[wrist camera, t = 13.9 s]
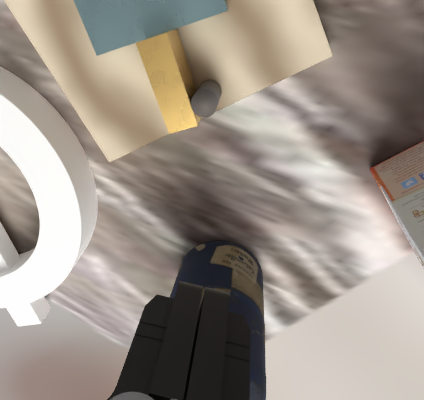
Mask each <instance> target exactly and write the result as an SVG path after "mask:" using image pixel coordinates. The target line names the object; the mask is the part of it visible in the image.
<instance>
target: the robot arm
mask: <svg viewBox="0 0 424 400" xmlns="http://www.w3.org/2000/svg"><path fill="white" fill-rule="evenodd" d="M202 292H203V286H199V285H195V284H190V283H186V282H182V281H179V284H178V287H177V291H176V295H175V298H174V299H173V298H169V297H165V296H161V295H156V296H155V297H154V298H153V299H152V300H151V301H150V302H149V303H148V304H147V305H146V306H145V308H144V310H143V313H142V316H141V319H140V322H139V324H138V327H137V330H136V333H135V336H134V338H133V341H132V344H131V347H130V350H129V352H128V355H127V358H126V361H125V363H124V366H123V369H122V372H121V375H120V377H119V380H118V383H117V386H116V388H115V390H114V392H113V393H112V395H111V396H110V397H109V398H108V399H107V400H250V346H251V330H250V328H249V325H248V323H247V321H246V319H245V316H244V315H242V314H238V313H234V312H229V311H228V310H229V298H230V293H229V292H225V291H221V290H216V289H212V288H208V287H205V289H204V293H203V297H202ZM201 298H202V300H201ZM200 303H201V304H200Z"/></svg>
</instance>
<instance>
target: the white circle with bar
mask: <svg viewBox="0 0 424 400" xmlns="http://www.w3.org/2000/svg"><path fill="white" fill-rule="evenodd" d="M0 147H1V148H2V149H3V150H4V151H5V152H6V153H7V154H8V155H9V156H10V157H11V158H12V160H13V161H14V162H15V163H16V165H17V166H18V167H19V169H20V170H21V172H22V173H23V175H24V176H25V178H26V180H27V182H28V183H29V185H30V187H31V190H32V192H33V194H34V197H35V200H36V203H37V207H38V212H39V219H40V231H39V238H38V242H37V245H36V247H35V248H34V249H32V250H30V251H27V252H25V253H21V254H18V252H17V251H16V249H15V247H14V245H13V243H12V242H11V240H10V238H9V236H8V235H7V233H6V231H5V229H4V227H3V226H2V224H1V222H0V308H7V310H8V312H9V313H10V315H11V316H12V318H13V319H14V321H15V323H16V324H17V326H25V325H34V324H41V323H42V322H43V321H44V319H45V317H46V316H47V314H48V313H49V311H50V310H51V308H50V306H49V304H48V302H47V300H46V299H45V297H44V296H46V295H47V294H49V293H50V292H52V291H53V290H54V289H56V288H57V287H58V286H59V285H60V284H61V283H62V282H63V281H64V279H65V278H66V277H67V275H68V274H69V273H70V271H71V270H72V268H73V267H74V265H75V264H76V262H77V261H78V259H79V258H80V256H81V255H82V253H83V252H84V250H85V249H86V247H87V246H88V244H89V242H90V240H91V238H92V235H93V232H94V229H95V225H96V219H97V210H98V201H97V191H96V184H95V180H94V176H93V173H92V169H91V166H90V164H89V161H88V159H87V156H86V154H85V152H84V150H83V148H82V146H81V144H80V142H79V141H78V139H77V137H76V136H75V134H74V132H73V131H72V130H71V128H70V127H69V125H68V124H67V123H66V121H65V120H64V119H63V117H62V116H61V115H60V114H59V113H58V112H57V110H56V109H55V108H54V107H53V106H52V105H51V104H50V103H49V102H48V101H47V100H46V99H45V98H44V97H43V96H42V95H41V94H40V93H38V92H37V91H36V90H35V89H34V88H32V87H31V86H30V85H29V84H27V83H26V82H24V81H23V80H22V79H20V78H19V77H17V76H16V75H14V74H13V73H11V72H9V71H8V70H6V69H4V68H2V67H1V66H0Z"/></svg>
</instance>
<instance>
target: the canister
mask: <svg viewBox="0 0 424 400" xmlns="http://www.w3.org/2000/svg"><path fill="white" fill-rule="evenodd" d="M179 281H182V282H186V283H190V284H195V285H199V286H203V292H202V297H203V293H204V289H205V287H208V288H212V289H216V290H221V291H225V292H229V293H230V298H229V310H228V311H229V312H234V313H238V314H242V315H244V316H245V319H246V321H247V323H248V325H249V328H250V330H251V346H250V400H265V399H266V373H265V324H264V301H263V275H262V270H261V267H260V265H259V263H258V261H257V259H256V258H255V257H254V255H253V254H252V253H251V252H249V251H248V250H247V249H245V248H244V247H242V246H240V245H238V244H235V243H232V242H227V241H211V242H206V243H203V244H200V245H198V246H196V247H195V248H193V249H192V250H191V251H189V252H188V253H187V255H186V256H185V257H184V259H183V260H182V262H181V264H180V268H179V272H178V275H177V278H176V281H175V284H174V287H173V290H172V293H171V295H170V298H173V299H174V298H175V295H176V291H177V287H178V284H179ZM201 300H202V298H201ZM200 304H201V303H200Z"/></svg>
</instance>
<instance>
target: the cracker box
mask: <svg viewBox="0 0 424 400" xmlns="http://www.w3.org/2000/svg"><path fill="white" fill-rule="evenodd" d="M370 171H371V173H372V175H373V176H374V178H375V180H376V182H377V184H378V186H379V188H380V190H381V191H382V193H383V195H384V197H385V199H386V201H387V203H388V205H389V206H390V208H391V210H392V212H393V214H394V216H395V218H396V219H397V221H398V223H399V225H400V227H401V229H402V230H403V232H404V234H405V236H406V238H407V239H408V241H409V243H410V245H411V247H412V248H413V250H414V252H415V254H416V255H417V257H418V259H419V261H420V263H421V264H422V266H423V268H424V141H422V142H420V143H418V144H416V145H414V146H412V147H410V148H408V149H406V150H405V151H403V152H401V153H399V154H397V155H395V156H393V157H391V158H389V159H387V160H385V161H383V162H381V163H380V164H378V165H375V166H373V167H371V168H370Z"/></svg>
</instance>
